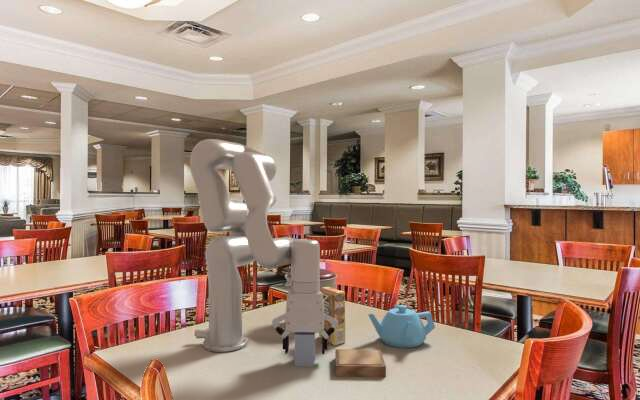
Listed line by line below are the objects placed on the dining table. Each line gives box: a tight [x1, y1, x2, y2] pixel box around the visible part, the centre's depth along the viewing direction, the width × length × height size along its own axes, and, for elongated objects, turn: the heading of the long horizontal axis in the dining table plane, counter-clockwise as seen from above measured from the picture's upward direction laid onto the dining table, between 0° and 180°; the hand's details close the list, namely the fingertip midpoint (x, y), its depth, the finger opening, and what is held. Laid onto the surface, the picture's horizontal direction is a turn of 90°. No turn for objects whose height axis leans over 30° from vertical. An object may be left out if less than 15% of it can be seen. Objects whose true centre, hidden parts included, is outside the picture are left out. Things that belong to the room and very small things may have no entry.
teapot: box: [367, 304, 436, 349], centre depth 126 cm, size 15×15×11 cm
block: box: [294, 333, 316, 367], centre depth 110 cm, size 5×5×8 cm
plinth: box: [334, 348, 387, 378], centre depth 106 cm, size 12×11×3 cm
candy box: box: [318, 287, 346, 346], centre depth 127 cm, size 9×4×15 cm, turn 33°
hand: (305, 352), depth 110 cm, fingers open, 9 cm apart
